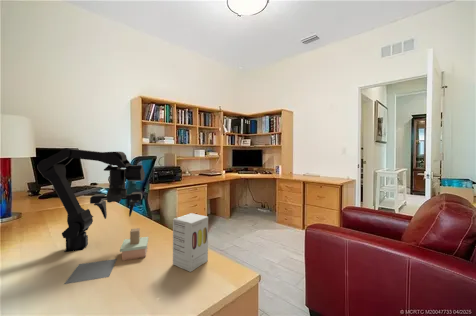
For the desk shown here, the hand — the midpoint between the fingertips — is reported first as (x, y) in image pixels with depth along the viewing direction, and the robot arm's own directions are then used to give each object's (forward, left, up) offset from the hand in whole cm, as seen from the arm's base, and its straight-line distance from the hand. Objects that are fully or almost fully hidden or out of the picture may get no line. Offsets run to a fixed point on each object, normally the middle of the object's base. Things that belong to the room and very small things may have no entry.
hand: (117, 217), depth 90 cm
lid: (+8, -10, -8) cm, 16 cm away
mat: (-4, -18, -12) cm, 23 cm away
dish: (+8, -10, -12) cm, 18 cm away
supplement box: (+28, -23, -13) cm, 38 cm away
